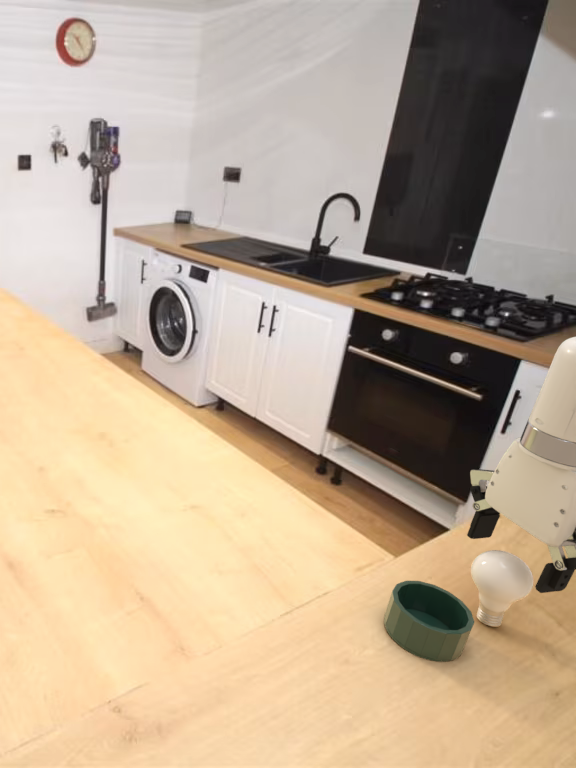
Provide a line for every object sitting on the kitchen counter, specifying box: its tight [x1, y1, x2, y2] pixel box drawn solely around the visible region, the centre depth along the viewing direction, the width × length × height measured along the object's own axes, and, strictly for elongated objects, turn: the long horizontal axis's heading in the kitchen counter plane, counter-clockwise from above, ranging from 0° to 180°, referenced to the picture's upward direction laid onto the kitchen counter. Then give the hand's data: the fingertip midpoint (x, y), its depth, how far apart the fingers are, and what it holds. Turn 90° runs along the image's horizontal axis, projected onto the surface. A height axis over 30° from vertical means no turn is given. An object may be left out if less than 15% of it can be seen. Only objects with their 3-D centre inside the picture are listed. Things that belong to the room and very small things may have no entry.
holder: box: [383, 580, 475, 663], centre depth 70 cm, size 9×9×5 cm
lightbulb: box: [470, 549, 534, 628], centre depth 71 cm, size 6×6×11 cm
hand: (510, 561), depth 69 cm, fingers open, 9 cm apart
